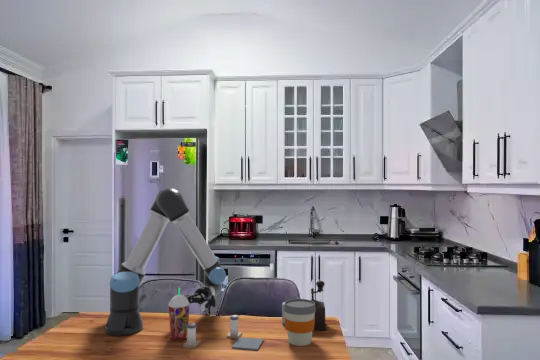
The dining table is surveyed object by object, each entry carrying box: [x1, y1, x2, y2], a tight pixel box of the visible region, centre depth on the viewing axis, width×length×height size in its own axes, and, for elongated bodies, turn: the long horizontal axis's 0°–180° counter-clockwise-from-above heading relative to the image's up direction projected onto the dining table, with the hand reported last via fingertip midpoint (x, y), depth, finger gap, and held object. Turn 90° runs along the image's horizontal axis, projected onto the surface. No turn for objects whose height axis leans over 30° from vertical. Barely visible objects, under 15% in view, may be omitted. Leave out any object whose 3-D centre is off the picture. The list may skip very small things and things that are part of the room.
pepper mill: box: [310, 280, 327, 331], centre depth 180 cm, size 16×11×18 cm
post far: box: [226, 314, 243, 340], centre depth 166 cm, size 5×5×8 cm
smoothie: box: [168, 287, 191, 341], centre depth 164 cm, size 8×8×20 cm
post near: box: [182, 322, 201, 349], centre depth 156 cm, size 5×5×8 cm
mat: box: [231, 336, 265, 351], centre depth 157 cm, size 10×10×1 cm
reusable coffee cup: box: [284, 298, 316, 347], centre depth 160 cm, size 13×13×15 cm
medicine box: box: [281, 301, 286, 325], centre depth 182 cm, size 8×4×9 cm, turn 84°
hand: (185, 307), depth 168 cm, fingers open, 13 cm apart
